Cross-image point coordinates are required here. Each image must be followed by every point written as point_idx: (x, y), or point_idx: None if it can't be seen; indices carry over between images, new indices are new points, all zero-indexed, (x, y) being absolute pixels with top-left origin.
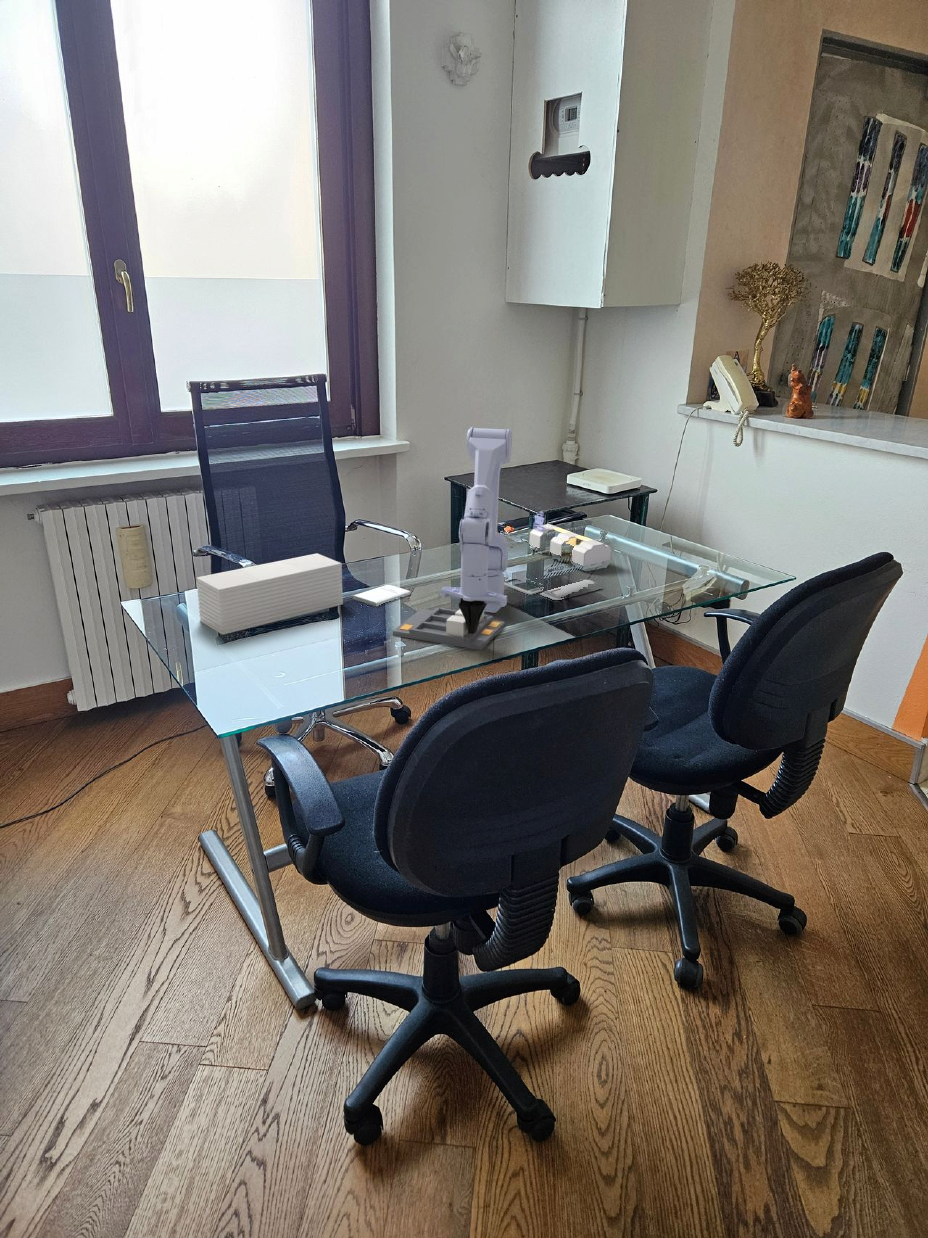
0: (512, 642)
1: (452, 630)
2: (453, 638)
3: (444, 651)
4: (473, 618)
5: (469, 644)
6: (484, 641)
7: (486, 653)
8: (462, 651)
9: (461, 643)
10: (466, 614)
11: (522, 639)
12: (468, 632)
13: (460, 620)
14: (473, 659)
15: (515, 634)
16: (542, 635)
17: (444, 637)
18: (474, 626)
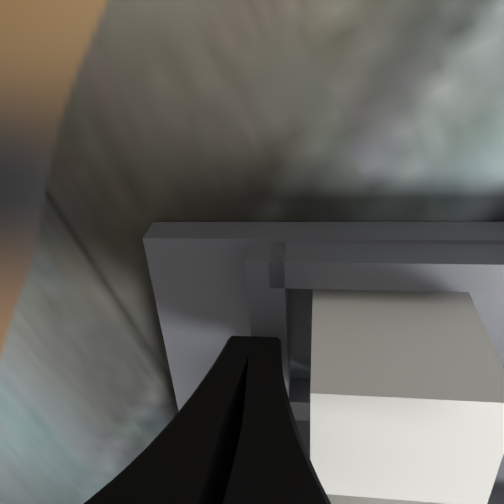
0: (67, 386)
1: (419, 327)
2: (384, 255)
3: (411, 78)
4: (186, 445)
5: (238, 236)
6: (166, 316)
7: (94, 189)
8: (266, 148)
9: (307, 236)
10: (265, 482)
11: (50, 429)
12: (273, 340)
13: (364, 433)
14: (109, 29)
15: (114, 465)
16: (8, 483)
17: (472, 252)
18: (203, 381)
